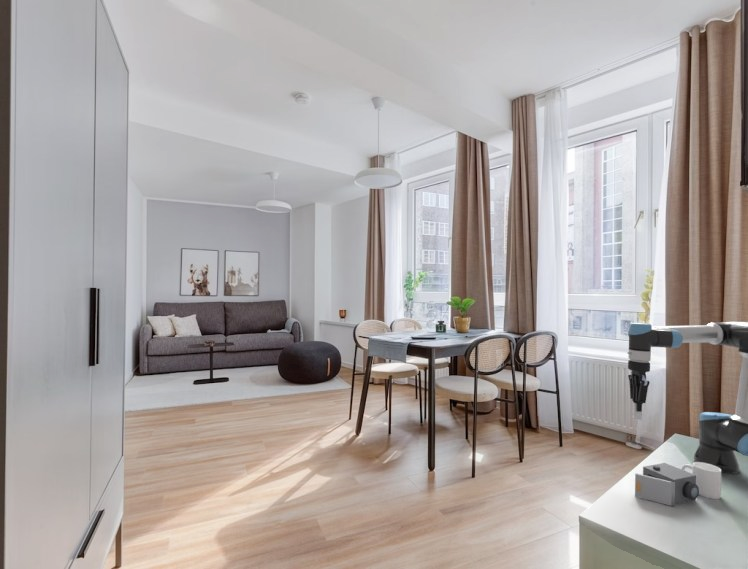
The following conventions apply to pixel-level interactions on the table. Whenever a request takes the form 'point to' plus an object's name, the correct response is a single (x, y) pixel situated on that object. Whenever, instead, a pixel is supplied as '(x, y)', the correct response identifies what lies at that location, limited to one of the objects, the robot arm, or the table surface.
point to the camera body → (683, 481)
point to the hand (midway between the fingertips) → (637, 418)
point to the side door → (655, 489)
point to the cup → (706, 479)
